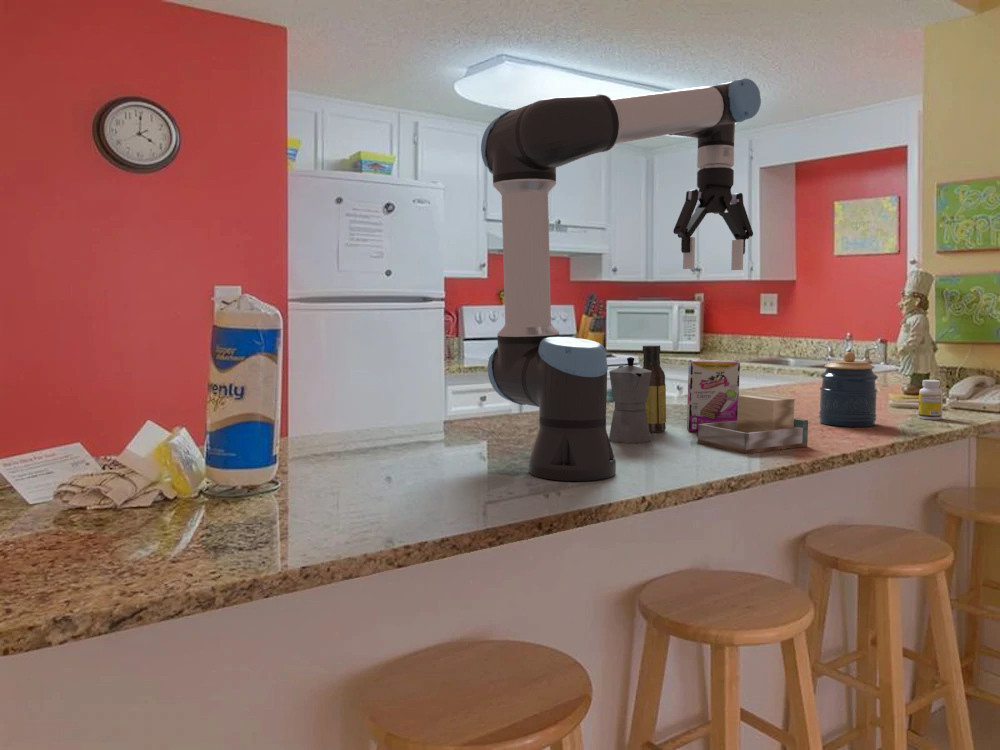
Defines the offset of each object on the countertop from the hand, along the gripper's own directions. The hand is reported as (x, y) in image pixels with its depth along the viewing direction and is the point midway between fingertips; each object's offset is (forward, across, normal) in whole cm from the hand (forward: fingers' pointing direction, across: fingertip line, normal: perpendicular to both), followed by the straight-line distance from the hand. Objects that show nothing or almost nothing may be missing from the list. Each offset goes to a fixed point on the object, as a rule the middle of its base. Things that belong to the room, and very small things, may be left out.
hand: (713, 269), depth 176 cm
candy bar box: (+37, +8, +8) cm, 39 cm away
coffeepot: (+37, -16, +8) cm, 41 cm away
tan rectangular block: (+36, +6, -10) cm, 38 cm away
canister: (+37, +45, +1) cm, 58 cm away
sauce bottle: (+37, -4, +15) cm, 40 cm away
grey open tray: (+37, +2, -10) cm, 38 cm away
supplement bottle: (+37, +71, -3) cm, 80 cm away
